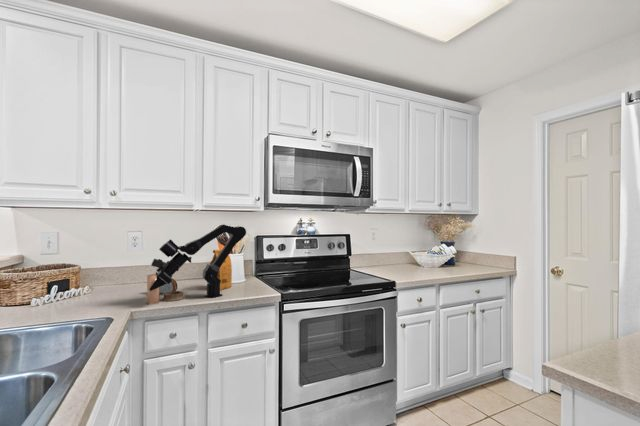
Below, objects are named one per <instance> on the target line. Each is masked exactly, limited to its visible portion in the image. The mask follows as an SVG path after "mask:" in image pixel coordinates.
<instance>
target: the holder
mask: <svg viewBox="0 0 640 426" xmlns="http://www.w3.org/2000/svg"><path fill="white" fill-rule="evenodd" d="M183 299H184V291H181V290H176V291H171V292H166V293H164V294H163V299H162V300H163V301H164V302H178V301H181V300H183Z"/></svg>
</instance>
